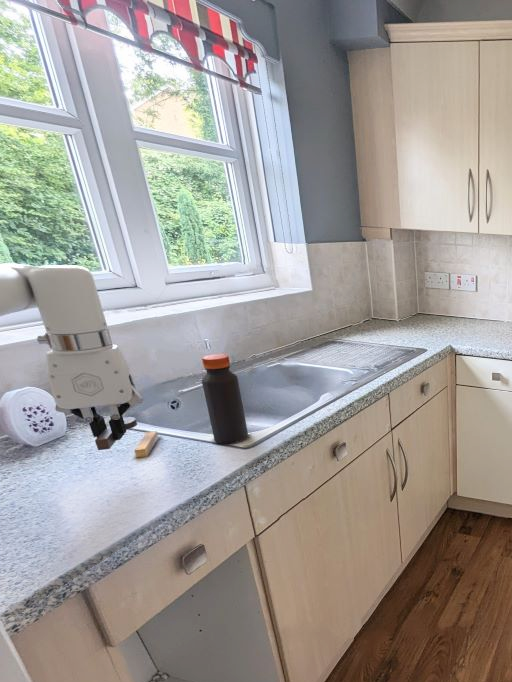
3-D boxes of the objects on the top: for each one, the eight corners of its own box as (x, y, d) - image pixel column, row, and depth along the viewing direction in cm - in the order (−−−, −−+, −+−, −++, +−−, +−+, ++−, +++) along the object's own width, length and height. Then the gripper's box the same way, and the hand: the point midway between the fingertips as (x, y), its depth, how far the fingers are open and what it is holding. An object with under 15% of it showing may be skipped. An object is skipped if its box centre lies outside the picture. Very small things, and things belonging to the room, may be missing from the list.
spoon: (119, 447, 81) (116, 437, 80) (87, 451, 79) (84, 441, 78) (140, 421, 92) (137, 411, 91) (111, 424, 90) (109, 414, 89)
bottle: (237, 430, 111) (222, 351, 104) (254, 436, 108) (240, 356, 102) (208, 440, 106) (189, 357, 99) (225, 447, 103) (207, 362, 96)
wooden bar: (147, 456, 97) (145, 448, 97) (136, 457, 96) (134, 450, 96) (158, 437, 106) (156, 430, 105) (148, 439, 105) (146, 432, 104)
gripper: (6, 349, 71) (45, 454, 77) (133, 342, 77) (159, 439, 84) (29, 339, 77) (63, 437, 83) (145, 333, 84) (169, 424, 90)
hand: (111, 437), depth 83 cm, fingers closed on spoon, 1 cm apart
